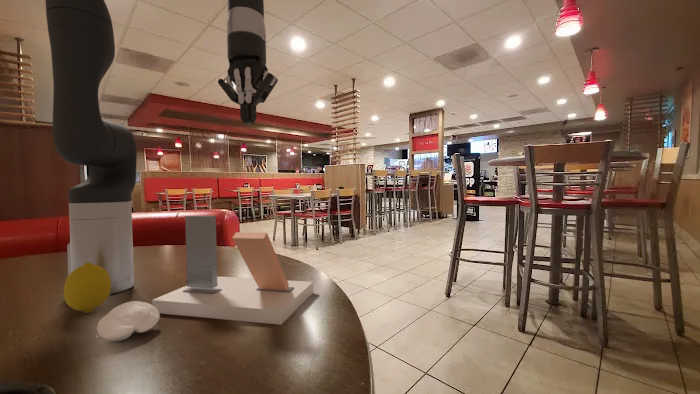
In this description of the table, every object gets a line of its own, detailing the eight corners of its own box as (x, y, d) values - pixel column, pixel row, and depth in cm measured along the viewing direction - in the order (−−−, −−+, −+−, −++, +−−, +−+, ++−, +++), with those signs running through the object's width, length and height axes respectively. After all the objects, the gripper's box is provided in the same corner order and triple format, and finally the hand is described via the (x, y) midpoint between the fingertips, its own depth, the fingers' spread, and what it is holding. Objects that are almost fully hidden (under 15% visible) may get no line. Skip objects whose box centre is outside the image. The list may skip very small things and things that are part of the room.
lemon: (84, 306, 48) (83, 259, 48) (120, 305, 48) (118, 258, 48) (53, 321, 42) (51, 268, 42) (93, 319, 43) (92, 266, 43)
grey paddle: (187, 286, 49) (185, 216, 49) (192, 284, 50) (190, 215, 50) (212, 288, 48) (210, 216, 47) (217, 286, 49) (215, 215, 49)
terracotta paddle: (259, 288, 49) (232, 237, 42) (262, 282, 50) (236, 232, 43) (286, 290, 48) (263, 238, 41) (288, 284, 49) (266, 232, 42)
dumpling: (141, 323, 42) (140, 295, 42) (168, 327, 40) (168, 299, 40) (84, 348, 35) (83, 316, 35) (115, 354, 34) (114, 321, 33)
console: (152, 312, 45) (151, 298, 45) (210, 285, 58) (209, 275, 58) (281, 324, 40) (281, 309, 40) (313, 292, 53) (313, 280, 53)
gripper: (206, 34, 57) (208, 121, 57) (266, 24, 54) (268, 116, 54) (230, 51, 64) (231, 129, 65) (284, 44, 61) (286, 125, 62)
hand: (248, 123), depth 60 cm, fingers closed
